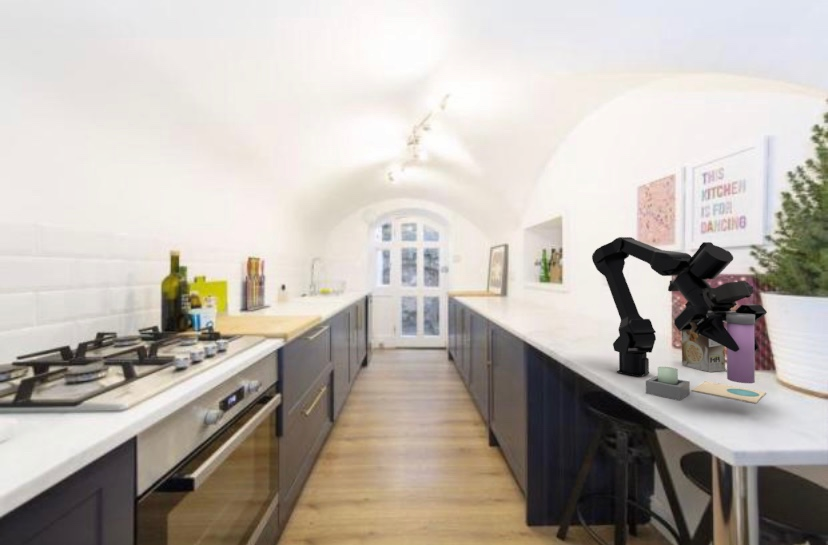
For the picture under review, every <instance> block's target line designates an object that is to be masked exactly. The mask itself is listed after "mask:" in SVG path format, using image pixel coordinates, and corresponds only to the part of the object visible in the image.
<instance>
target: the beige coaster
mask: <svg viewBox="0 0 828 545" xmlns="http://www.w3.org/2000/svg"><path fill="white" fill-rule="evenodd" d="M690 392H695V393H698V394H705V395H710V396H714V397H719V398H725V399H730V400H735V401H740V402H746V403H750V404H757V403H758V402H759V401H761V400H762V398H763V397H764V396H765V395H766V394H767V391H761V390H756V389H751V388H747V387H746V388H744V387H738V386H733V385H728V384H722V383H716V382H711V381H703V382H702V383H700V384H698V385H696V387H693V388H692V389H691V390H690Z"/></svg>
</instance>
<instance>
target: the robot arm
mask: <svg viewBox="0 0 828 545" xmlns="http://www.w3.org/2000/svg"><path fill="white" fill-rule="evenodd" d="M630 256H632V257H633V258H636V259H638V260H641V261H643V262H645V263H646V264H649V265H650V268H651V269H652V270H653V271H654V272H655V273H657V274H658V275H660V276H663V277H672V276H674V277H675V278H674V279H671V280H669V285H668V287H667V291H668V292H679V293H680V294H681V295H682V296H683V298H684V299H685V300H686V301H687V302H686V303H685V304H684V305H685V307H684V308H683V310H681V311H680V313H678V315H676V317H675V318H674V320H673V321H674V322H673V324H674V326H675V327H676V329H677V330H678V331H679V332H682V331H690V330H691V328H692V326H691V325H690V322H695V324H696V326H697V328H696V329H695V330H694V333H696V334H700V335H702V336H705V337H707V338H709V339H711V340H713V341H715V342H717V343H719V344H721V345H723V346H725V349H727V348H728V349H730V350H732V351H734V352H737V351H738V350H739V347H738V345H737V344H736V342H735V341H734V339H733V338H732V337H731V335H730V334H729V333H728V331H727V327H725V325H724V326H723V322H724V324H727V322H726V313H744V314H753V315H755V323H757V322H758V321H759V320H760V319H761V318H763V317H765V315H766V314H767V313H768V312H767V310H766V309H765V308H764V307H763V306H762V305H761V304H741V305H740V306H739V307H738V308H736V309H735V310H731V309H733V308H735V307H736V305H738V304H737V301H740V300H743V299H747V298H750V297H752V294H754V286H752V285H751V284H750V283H749V282H747V281H746V280H737V281H731V282H730V281H729V282H725V283H723V284H721V285H718V286H716V287H712V286H711V285H710V283H709V282H708V281H707V280H715V279H717V278H718V276H720V274H721V273H722V272H723V271H725V269H726V268H727V267H728V265H729V264H731V263H732V261H733V260H734V256H733V254H732V253H731V252H730V251H729V250H726V249H724V248H722V247H720V246H719V245H715V244H714V243H713V242H709V241H708V242H707V241H705V242H702V243H701V244H700V245H699V247H698V249H697V250H696V251H695V253H693V255H691V254H690V253H686V252H682V251H681V252H680V251H671V250H664V249H661V248H658V247H655V246H652V245H649V244H647V243H644V242H642V241H640V240H638V239H637V240H636V239H635V238H634V237H630V236H629V237H627V236H626V237H625V236H621V237H620V236H619V237H617V238H615V239H613V240H612V241H610V242H608V243H606V244H603V245H601V246H599V247H598V248H596V249H595V250H594V252H593V253H592V255H591V260H592V262H593V264H594V266H595V268H596V270H597V271H598V272H599V273H600V275H603V277H605V279H606V282H607V286H608V289H609V291H610V294H611V296H612V299H613V302H614V304H615V308H616V311H617V314H618V316H619V318H620V323H619V327H618V333H619V336H618V337H617V338H616V339H615V340H614V342H613V343H612V346H613V350H614V352H617V353H618V359H619V360H618V364H619V368H618V370H616V373H618V374H623V375H627V376H633V377H638V378H641V377H644V376H646V375H649V374H650V370H649V369H650V368H649V366H650V364H649V362H650V361H649V360H650V359H649V358H648V357H647V356H648V355H647V353H652V352H653V349H654V346H655V342H656V340H657V339H656V338H657V337H656V330H655V328H654V326H653V323H652V321H651V319H650V318H643V317H642V316H641V315H640V312H639V311H638V308H637V305H636V303H635V300H634V298H633V295H632V293H631V290H630V287H629V285H628V283H627V279H626V277H625V275H624V272H623V270H624V268H625V264H626V262H625V260H626V259H628V258H629V257H630ZM758 349H760V347H759V343H758V341H757V339H756V336H755V334H754V350H755V351H757V350H758Z"/></svg>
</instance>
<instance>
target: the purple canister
mask: <svg viewBox="0 0 828 545" xmlns="http://www.w3.org/2000/svg"><path fill="white" fill-rule="evenodd" d="M726 322H727V323H726V330H727V331H728V333H729V334H730V335H731V337H732V338H733V339H734V341H735V342H736V344H737V345H738V347H739V350H738V351H737V352H734V351H732V350H730V349H728V348H726V379H727V380H729V381H730V382H734V383H739V384H740V383H741V384H754V383H756V380H755V376H756V374H755V373H756V372H755V370H756V369H755V368H756V366H755V365H756V364H755V363H756V362H755V350H754V335H755V325H756V322H755V315H753V314H744V313H726Z"/></svg>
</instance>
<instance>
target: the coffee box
mask: <svg viewBox="0 0 828 545" xmlns="http://www.w3.org/2000/svg"><path fill="white" fill-rule="evenodd" d="M690 325H691V326H692V328H691V330H690V331H681V365H682V366H683V367H688V368H693V369H696V370H701V371H705V372H708V373H712V372H715V373H716V372H725V371H726V353H725V352H726V347H725V346H723V345H721V344H719V343H717V342H715V341H713V340H711V339H709V338H707V337H705V336H702V335H700V334H696V333H694V330H695V329H696V328H697V326H696V324H695V322H690ZM723 326H724V327H725V322H723ZM724 370H725V371H724Z"/></svg>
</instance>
